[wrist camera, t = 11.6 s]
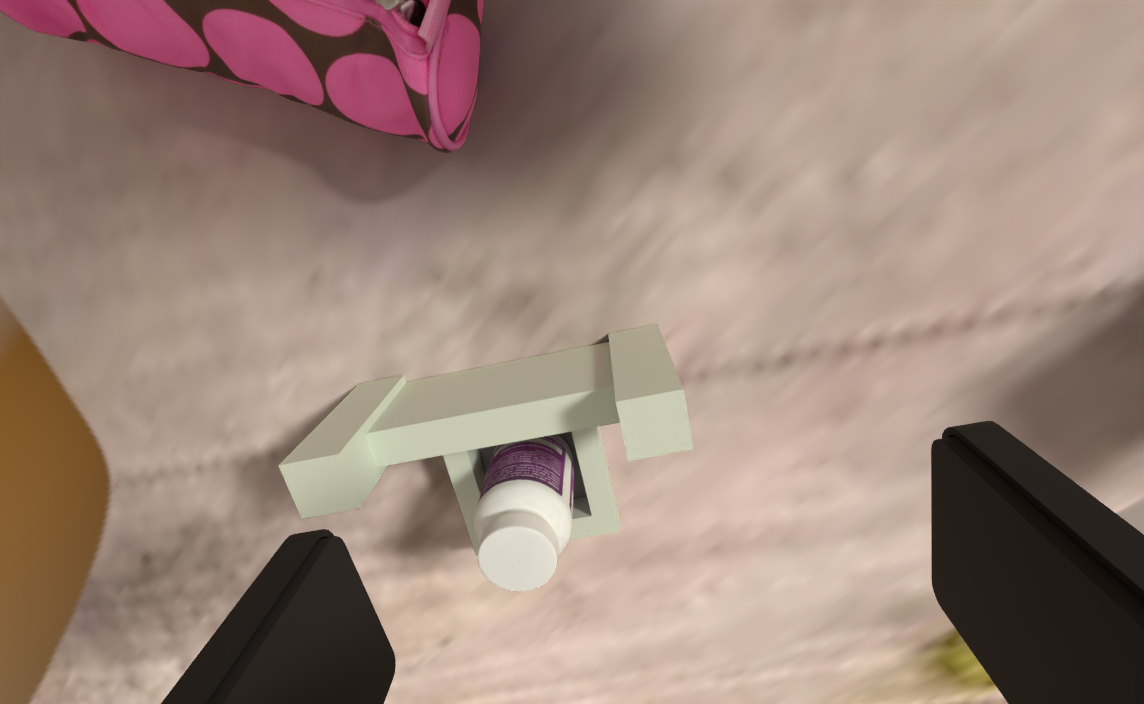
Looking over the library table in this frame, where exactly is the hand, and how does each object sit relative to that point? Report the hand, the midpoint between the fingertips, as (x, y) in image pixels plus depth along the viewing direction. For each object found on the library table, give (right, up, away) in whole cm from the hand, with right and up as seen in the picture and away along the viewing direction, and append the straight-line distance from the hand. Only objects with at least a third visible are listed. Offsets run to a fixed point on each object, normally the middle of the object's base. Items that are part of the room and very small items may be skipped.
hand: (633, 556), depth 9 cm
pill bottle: (-3, -4, +29) cm, 29 cm away
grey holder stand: (-4, -3, +28) cm, 29 cm away
